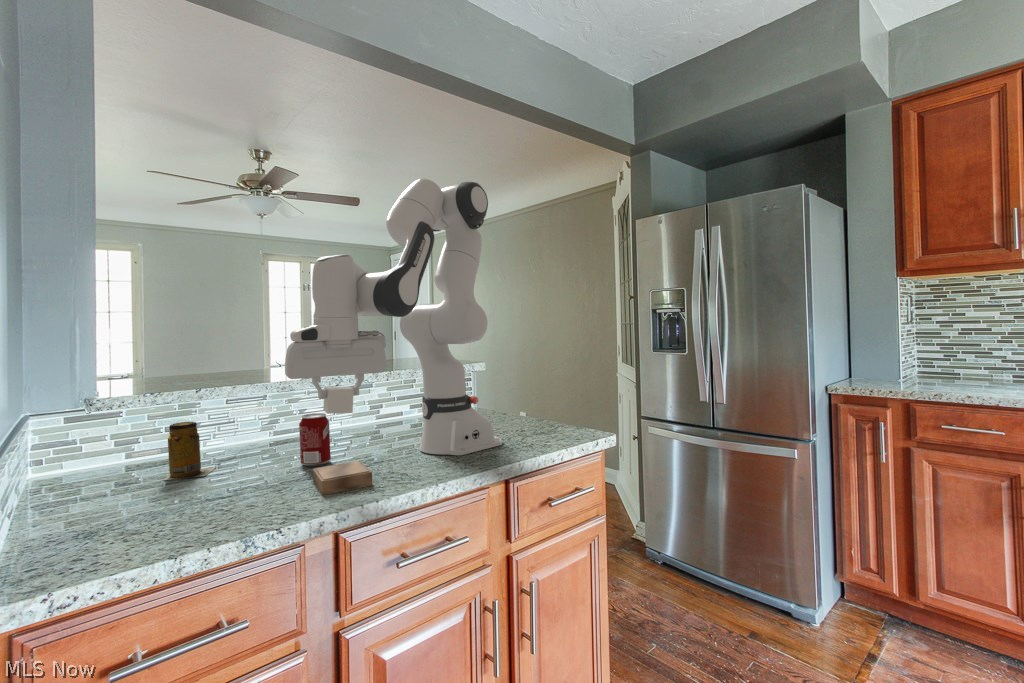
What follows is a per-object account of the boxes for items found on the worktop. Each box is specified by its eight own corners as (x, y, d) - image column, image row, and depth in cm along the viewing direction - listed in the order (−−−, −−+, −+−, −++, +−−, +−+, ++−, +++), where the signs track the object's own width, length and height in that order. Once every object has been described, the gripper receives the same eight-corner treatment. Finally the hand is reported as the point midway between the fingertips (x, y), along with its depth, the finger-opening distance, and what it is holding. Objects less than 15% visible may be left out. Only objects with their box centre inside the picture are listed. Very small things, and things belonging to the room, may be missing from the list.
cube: (347, 409, 105) (348, 386, 105) (352, 412, 101) (353, 389, 101) (323, 410, 103) (324, 386, 103) (327, 413, 98) (328, 389, 98)
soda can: (320, 468, 113) (318, 418, 113) (294, 467, 115) (292, 417, 114) (336, 460, 120) (334, 412, 120) (312, 459, 121) (310, 412, 121)
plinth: (359, 472, 109) (359, 459, 109) (372, 485, 101) (371, 471, 101) (313, 481, 104) (312, 468, 104) (322, 495, 95) (321, 480, 95)
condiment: (175, 471, 114) (173, 421, 113) (215, 468, 116) (213, 418, 115) (161, 481, 107) (158, 428, 106) (204, 477, 109) (201, 425, 108)
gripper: (380, 330, 109) (382, 390, 110) (282, 333, 98) (284, 400, 99) (389, 330, 104) (391, 393, 104) (286, 333, 93) (289, 404, 94)
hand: (339, 396), depth 102 cm, fingers closed on cube, 5 cm apart
